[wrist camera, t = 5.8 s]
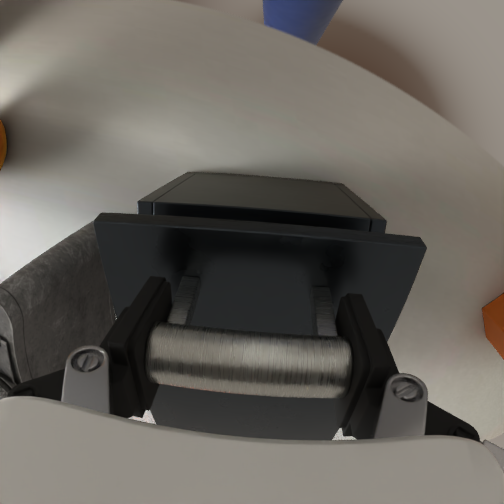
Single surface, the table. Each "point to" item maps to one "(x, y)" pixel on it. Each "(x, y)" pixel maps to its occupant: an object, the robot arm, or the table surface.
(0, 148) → the fruit
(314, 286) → the bin lid
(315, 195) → the bin
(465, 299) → the table surface
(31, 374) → the flask
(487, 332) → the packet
